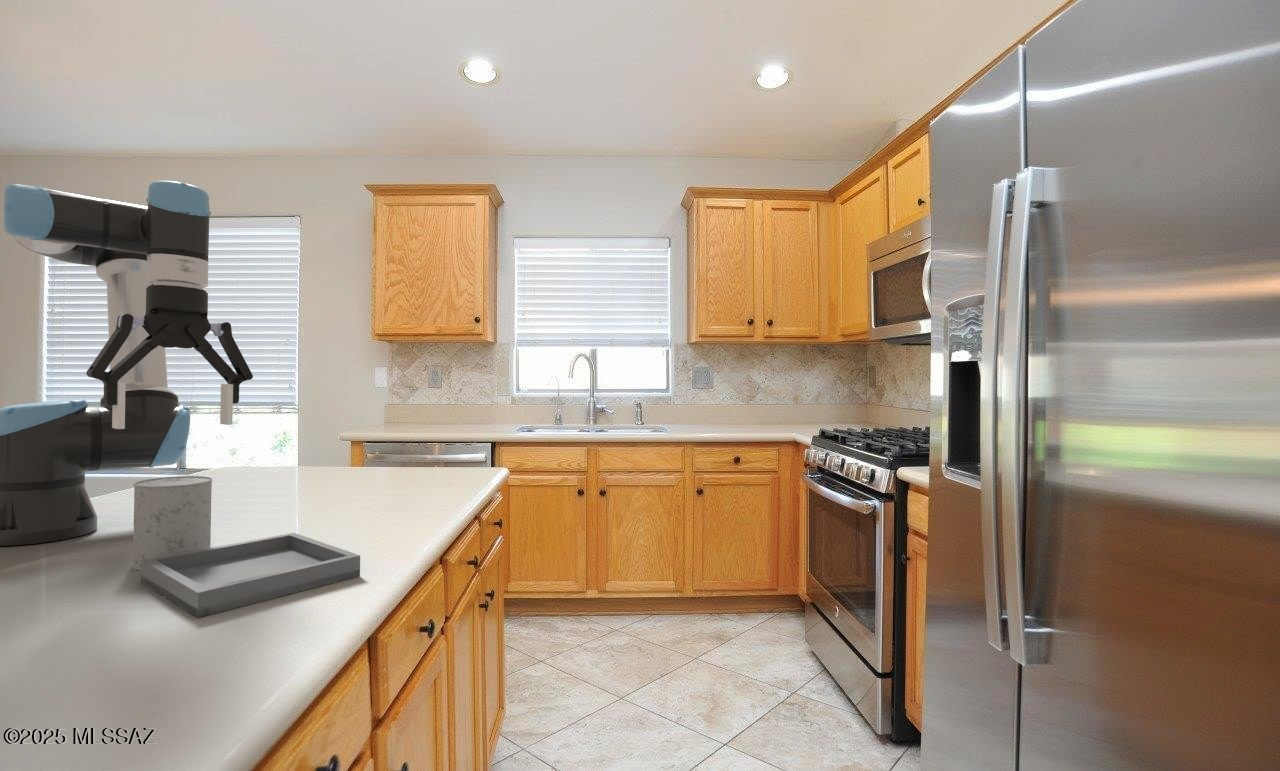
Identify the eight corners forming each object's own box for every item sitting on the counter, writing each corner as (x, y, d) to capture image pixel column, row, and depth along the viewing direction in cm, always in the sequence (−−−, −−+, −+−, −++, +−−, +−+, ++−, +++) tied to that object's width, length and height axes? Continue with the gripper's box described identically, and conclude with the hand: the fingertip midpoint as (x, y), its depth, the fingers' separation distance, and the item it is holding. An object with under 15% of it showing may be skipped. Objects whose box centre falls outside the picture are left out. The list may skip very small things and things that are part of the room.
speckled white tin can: (226, 554, 97) (227, 477, 97) (174, 572, 87) (176, 487, 87) (171, 551, 98) (172, 475, 98) (114, 569, 88) (115, 484, 88)
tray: (140, 582, 83) (141, 560, 83) (293, 550, 99) (294, 532, 99) (197, 618, 71) (197, 592, 71) (359, 576, 88) (360, 555, 88)
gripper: (74, 271, 80) (72, 432, 80) (276, 295, 100) (274, 424, 100) (60, 276, 84) (57, 428, 84) (256, 298, 105) (254, 421, 105)
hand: (175, 426), depth 92 cm, fingers open, 13 cm apart
